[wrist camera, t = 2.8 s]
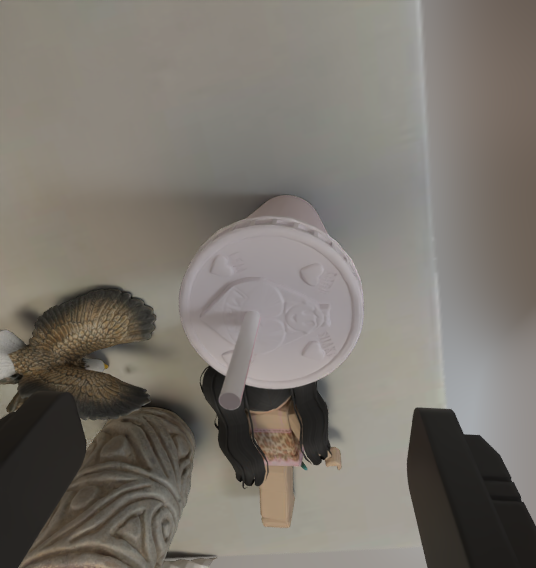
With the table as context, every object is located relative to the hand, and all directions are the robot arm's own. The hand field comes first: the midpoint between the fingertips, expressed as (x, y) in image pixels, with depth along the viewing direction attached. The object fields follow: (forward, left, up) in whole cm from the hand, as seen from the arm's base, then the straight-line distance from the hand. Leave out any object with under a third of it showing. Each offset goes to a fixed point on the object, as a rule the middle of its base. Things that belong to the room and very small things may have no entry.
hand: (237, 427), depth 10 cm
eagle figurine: (+7, -12, -15) cm, 21 cm away
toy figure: (+13, 0, -15) cm, 19 cm away
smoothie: (0, 0, -15) cm, 15 cm away
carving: (+14, -9, -15) cm, 23 cm away
